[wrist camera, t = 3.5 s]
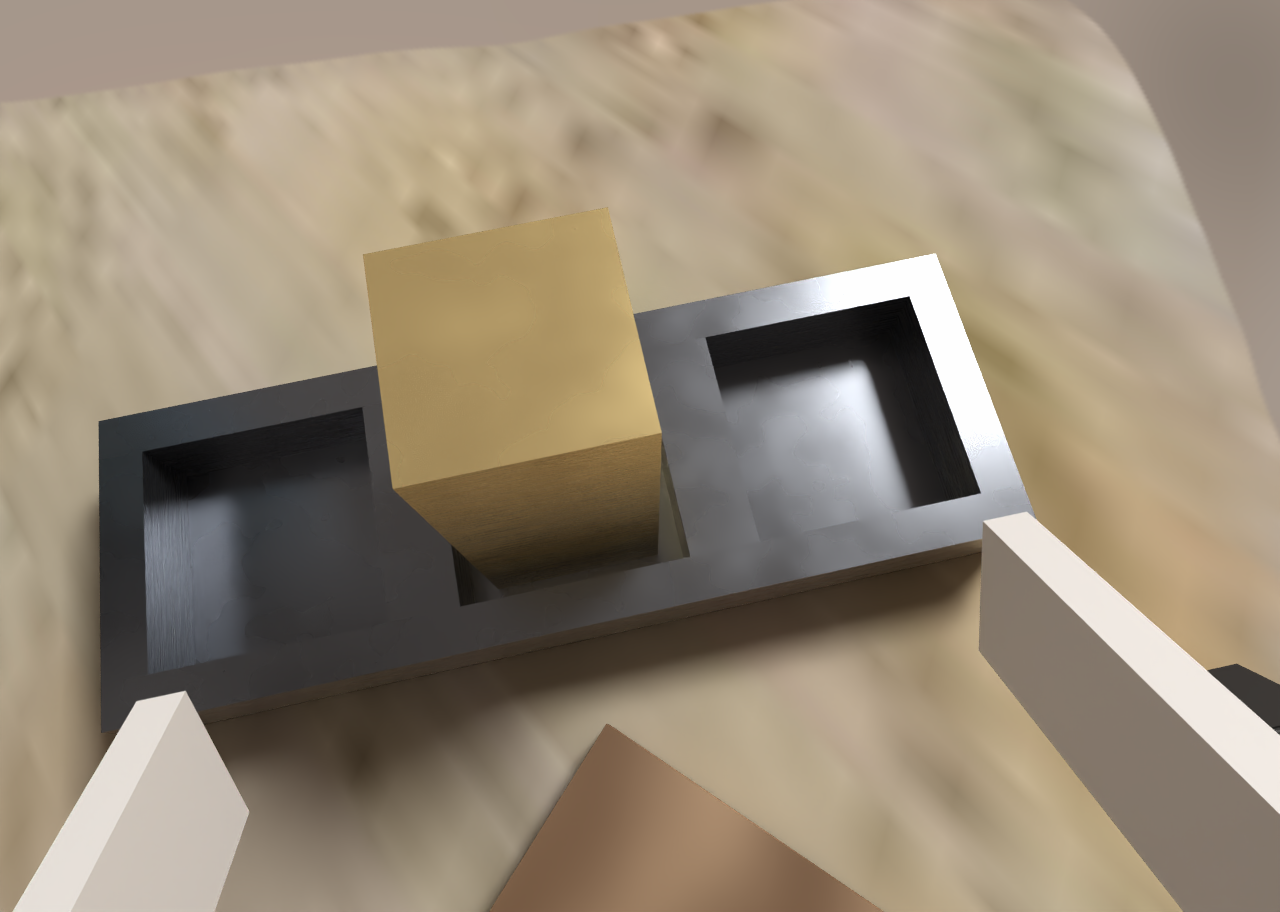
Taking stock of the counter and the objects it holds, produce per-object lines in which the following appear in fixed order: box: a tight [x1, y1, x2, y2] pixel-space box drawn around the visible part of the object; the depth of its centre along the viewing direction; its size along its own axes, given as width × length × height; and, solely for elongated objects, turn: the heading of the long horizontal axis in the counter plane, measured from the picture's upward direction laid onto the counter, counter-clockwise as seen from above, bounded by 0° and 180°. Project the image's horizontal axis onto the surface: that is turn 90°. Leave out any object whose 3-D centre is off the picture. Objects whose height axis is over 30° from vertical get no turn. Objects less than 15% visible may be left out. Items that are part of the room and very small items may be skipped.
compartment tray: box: [99, 254, 1036, 733], centre depth 25 cm, size 26×9×3 cm, turn 102°
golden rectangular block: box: [363, 207, 662, 589], centre depth 21 cm, size 5×5×11 cm
